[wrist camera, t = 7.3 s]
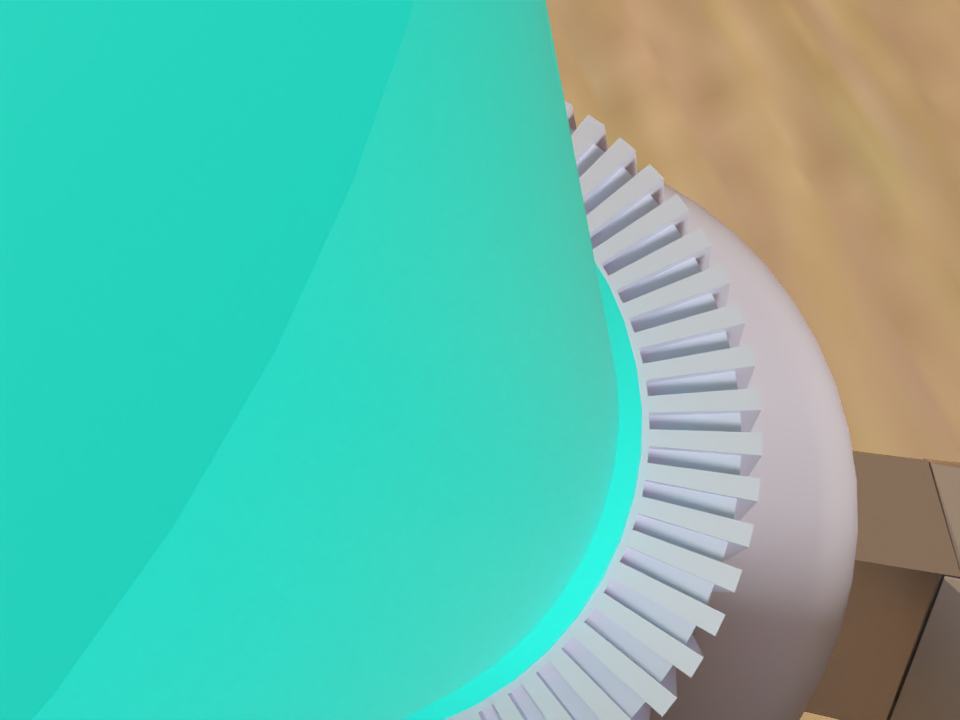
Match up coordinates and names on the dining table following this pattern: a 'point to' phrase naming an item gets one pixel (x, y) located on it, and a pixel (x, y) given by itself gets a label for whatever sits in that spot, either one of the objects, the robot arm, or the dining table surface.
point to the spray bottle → (386, 386)
